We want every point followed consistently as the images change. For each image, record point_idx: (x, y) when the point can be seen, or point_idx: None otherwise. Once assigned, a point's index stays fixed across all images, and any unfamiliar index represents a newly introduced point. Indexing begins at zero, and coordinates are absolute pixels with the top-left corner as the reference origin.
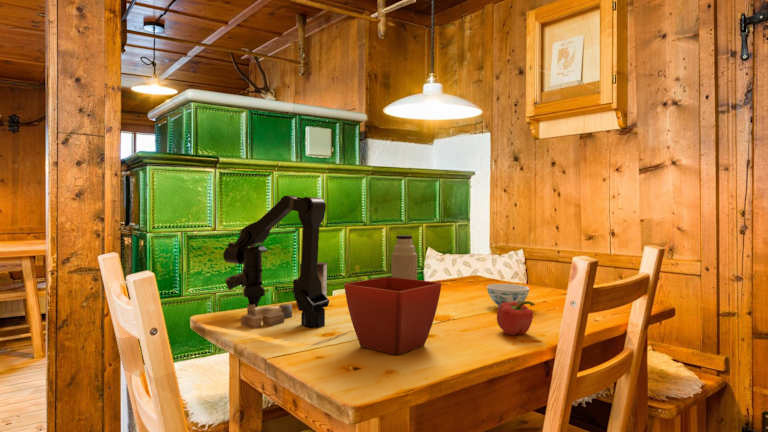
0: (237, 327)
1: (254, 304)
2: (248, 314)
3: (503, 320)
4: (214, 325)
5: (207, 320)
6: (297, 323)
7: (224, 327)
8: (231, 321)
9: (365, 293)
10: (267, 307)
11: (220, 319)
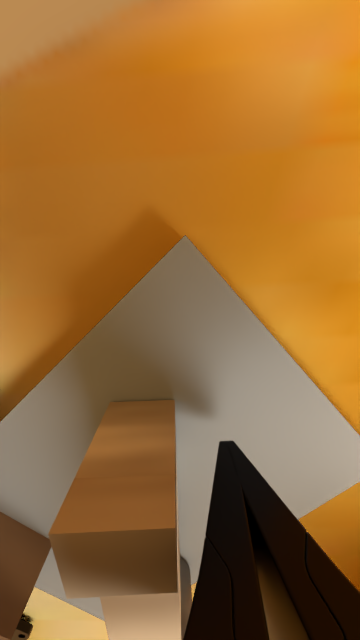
0: (12, 332)
1: (138, 590)
2: (96, 441)
3: None
4: (90, 146)
5: (304, 52)
6: None
7: (15, 240)
8: None
9: None
10: (154, 605)
11: (299, 188)
